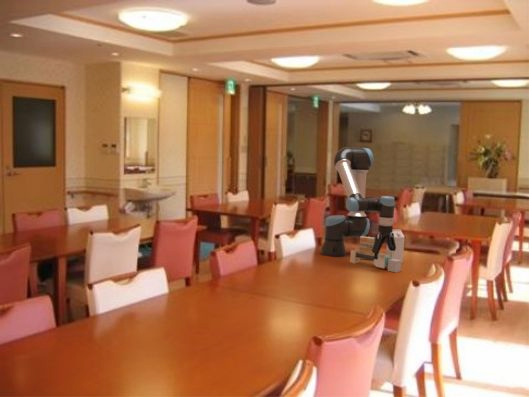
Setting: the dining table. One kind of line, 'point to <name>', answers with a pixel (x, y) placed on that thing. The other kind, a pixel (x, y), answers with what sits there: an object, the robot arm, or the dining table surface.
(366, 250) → the supplement box
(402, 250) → the milk carton
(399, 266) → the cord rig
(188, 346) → the dining table surface
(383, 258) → the sleeve
